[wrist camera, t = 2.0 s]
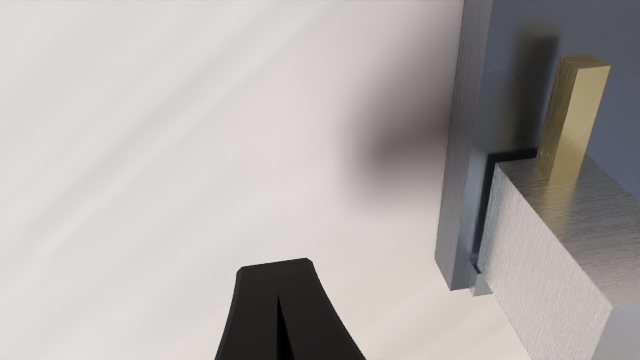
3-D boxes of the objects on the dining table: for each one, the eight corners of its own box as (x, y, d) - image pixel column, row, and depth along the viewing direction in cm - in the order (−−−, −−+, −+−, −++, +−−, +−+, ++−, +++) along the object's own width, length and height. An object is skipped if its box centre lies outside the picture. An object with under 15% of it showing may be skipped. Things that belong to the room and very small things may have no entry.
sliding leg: (615, 43, 10) (815, 153, 6) (553, 254, 13) (667, 400, 10) (515, 54, 9) (669, 173, 6) (476, 265, 13) (566, 418, 9)
